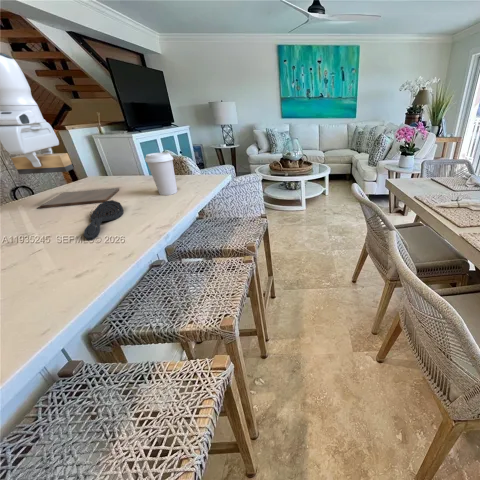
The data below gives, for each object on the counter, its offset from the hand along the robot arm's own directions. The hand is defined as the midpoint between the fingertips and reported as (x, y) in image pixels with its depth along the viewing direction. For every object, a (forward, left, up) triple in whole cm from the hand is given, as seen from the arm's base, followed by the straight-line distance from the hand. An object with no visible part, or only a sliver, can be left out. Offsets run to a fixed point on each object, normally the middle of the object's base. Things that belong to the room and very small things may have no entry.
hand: (44, 164), depth 84 cm
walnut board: (+1, +11, -15) cm, 18 cm away
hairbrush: (+17, -19, -15) cm, 30 cm away
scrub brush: (0, 0, -2) cm, 2 cm away
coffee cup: (+31, +8, -15) cm, 35 cm away
